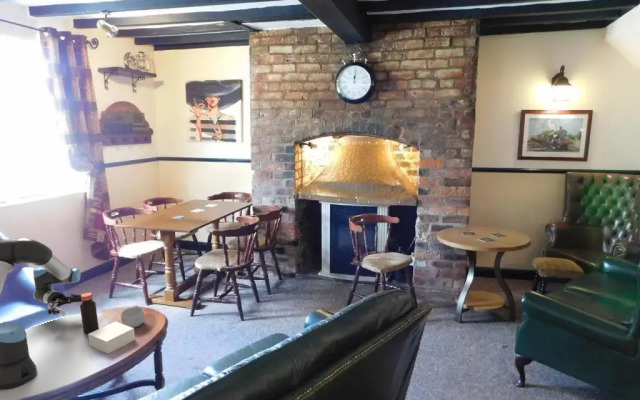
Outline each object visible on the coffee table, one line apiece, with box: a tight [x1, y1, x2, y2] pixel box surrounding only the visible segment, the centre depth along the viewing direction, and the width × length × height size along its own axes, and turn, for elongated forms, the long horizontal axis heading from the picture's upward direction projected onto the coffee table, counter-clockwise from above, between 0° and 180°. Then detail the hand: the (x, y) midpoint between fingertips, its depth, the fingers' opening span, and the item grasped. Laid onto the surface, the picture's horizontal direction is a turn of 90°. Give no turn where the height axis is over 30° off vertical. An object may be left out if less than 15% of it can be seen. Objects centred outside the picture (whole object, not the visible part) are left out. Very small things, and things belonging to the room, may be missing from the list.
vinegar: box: [79, 292, 100, 336], centre depth 213 cm, size 7×7×20 cm
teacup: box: [120, 305, 145, 329], centre depth 222 cm, size 14×11×8 cm
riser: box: [87, 321, 136, 354], centre depth 203 cm, size 14×14×6 cm
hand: (77, 307), depth 217 cm, fingers open, 13 cm apart
